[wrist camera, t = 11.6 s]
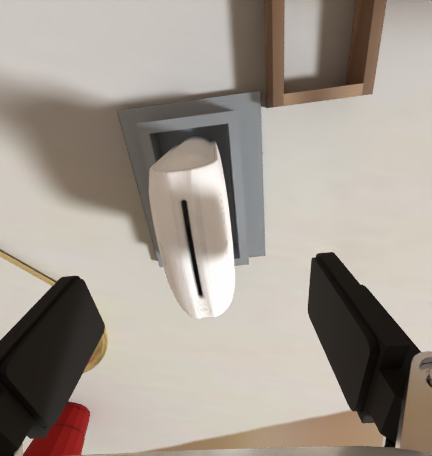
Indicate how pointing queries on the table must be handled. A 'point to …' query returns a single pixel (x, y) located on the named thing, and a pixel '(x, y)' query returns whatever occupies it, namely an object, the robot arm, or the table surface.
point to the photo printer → (194, 226)
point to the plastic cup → (63, 434)
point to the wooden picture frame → (358, 61)
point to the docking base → (228, 148)
